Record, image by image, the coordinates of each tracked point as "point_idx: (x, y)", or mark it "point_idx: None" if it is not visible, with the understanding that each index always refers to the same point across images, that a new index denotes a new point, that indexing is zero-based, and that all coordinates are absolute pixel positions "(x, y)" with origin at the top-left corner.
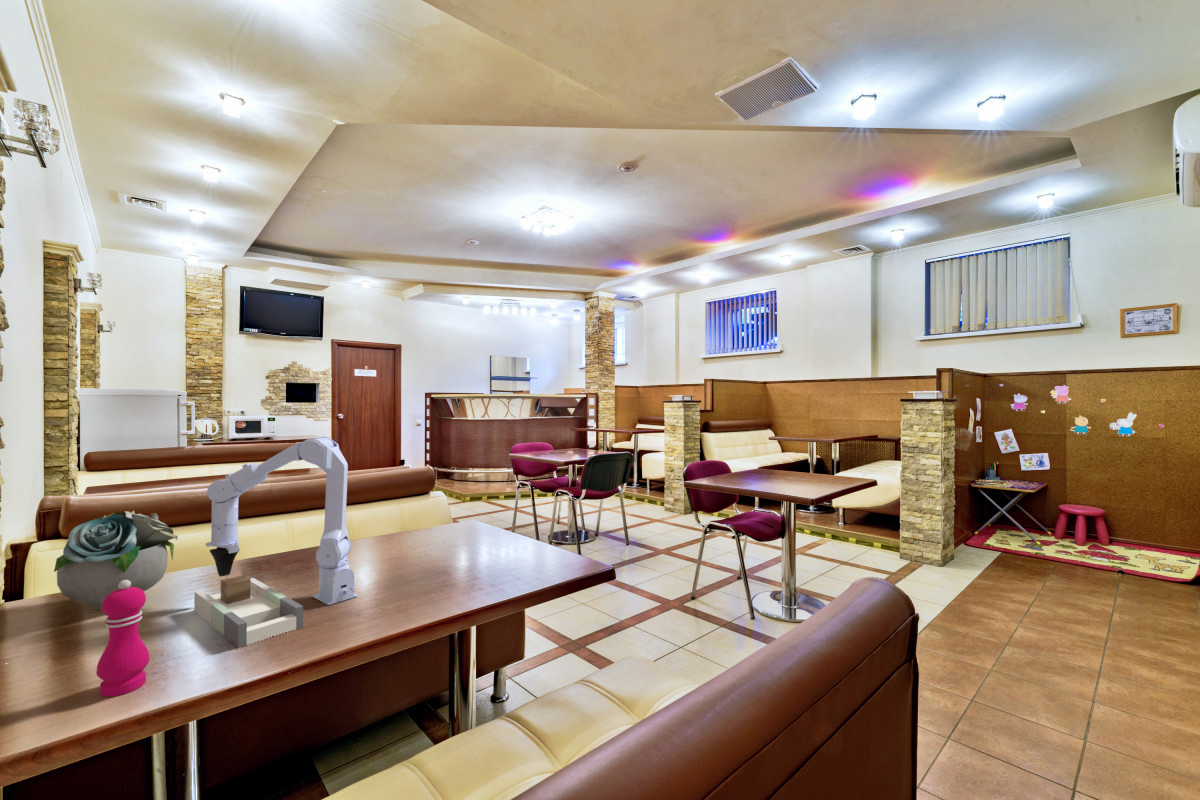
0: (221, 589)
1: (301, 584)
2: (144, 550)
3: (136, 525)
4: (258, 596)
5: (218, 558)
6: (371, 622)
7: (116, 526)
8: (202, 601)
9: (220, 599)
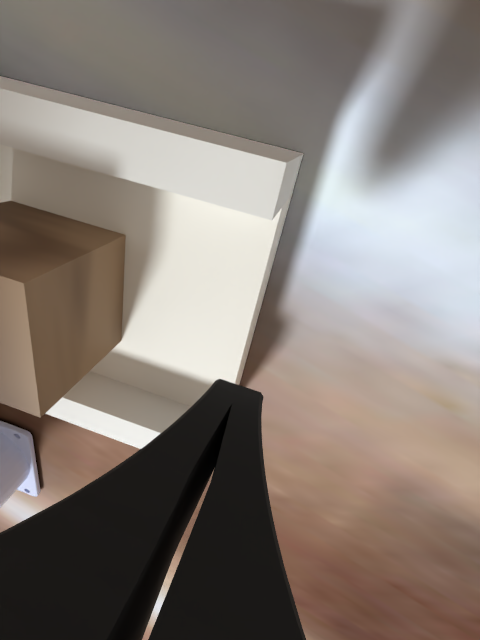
0: (59, 250)
1: (194, 511)
2: None
3: None
4: None
5: (23, 525)
6: None
7: None
8: (80, 106)
9: (125, 235)
